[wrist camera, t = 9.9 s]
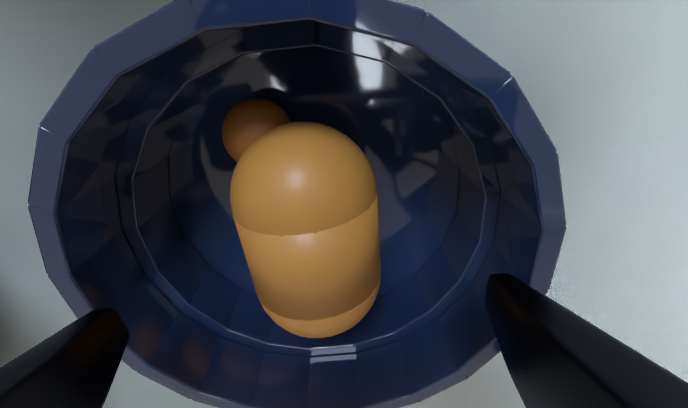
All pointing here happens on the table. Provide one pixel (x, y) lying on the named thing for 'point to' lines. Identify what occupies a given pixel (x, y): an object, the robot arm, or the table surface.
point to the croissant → (304, 218)
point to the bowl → (216, 214)
